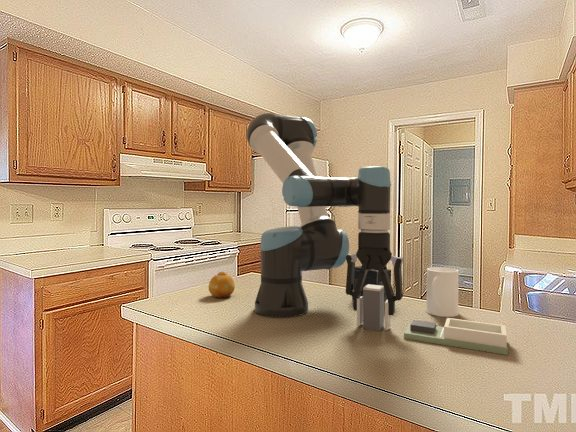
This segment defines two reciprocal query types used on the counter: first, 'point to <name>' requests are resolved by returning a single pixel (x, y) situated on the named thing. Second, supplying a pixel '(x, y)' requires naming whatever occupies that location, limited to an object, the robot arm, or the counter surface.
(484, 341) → the tray
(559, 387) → the counter surface
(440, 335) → the board
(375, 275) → the box
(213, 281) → the fruit
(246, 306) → the counter surface
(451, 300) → the white upright cylinder
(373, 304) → the plug
